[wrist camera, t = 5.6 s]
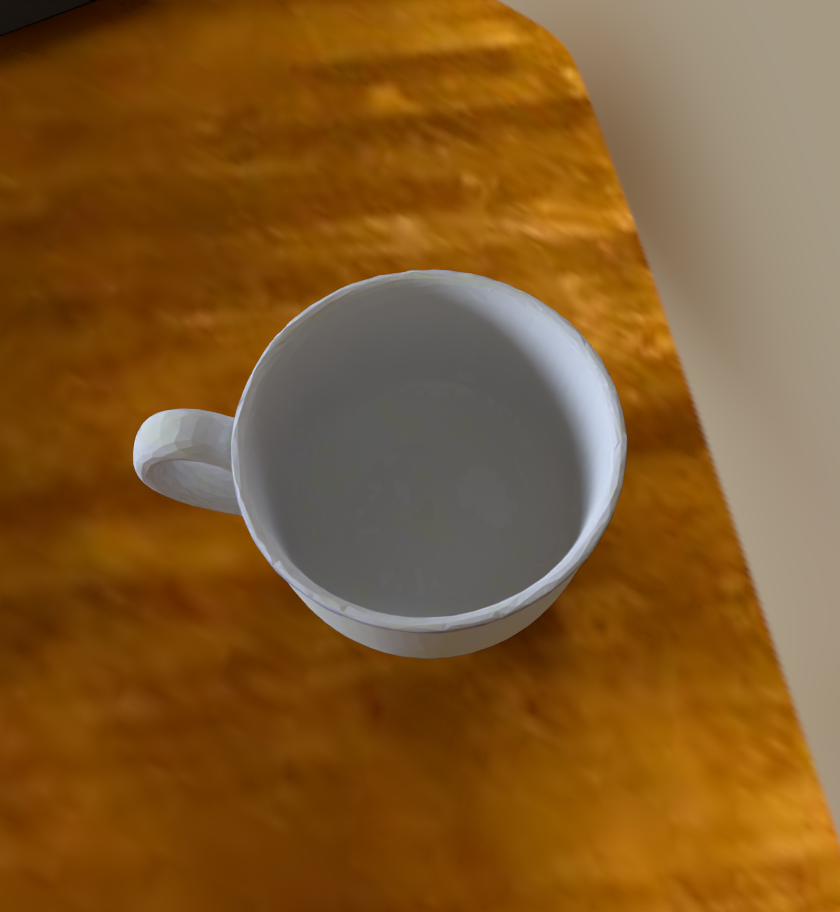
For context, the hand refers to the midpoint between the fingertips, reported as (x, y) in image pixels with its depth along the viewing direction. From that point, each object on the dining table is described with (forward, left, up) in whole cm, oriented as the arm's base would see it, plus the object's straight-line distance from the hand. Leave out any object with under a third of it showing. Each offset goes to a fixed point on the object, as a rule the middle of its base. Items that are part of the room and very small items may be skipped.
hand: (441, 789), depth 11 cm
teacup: (-4, -10, -15) cm, 18 cm away
